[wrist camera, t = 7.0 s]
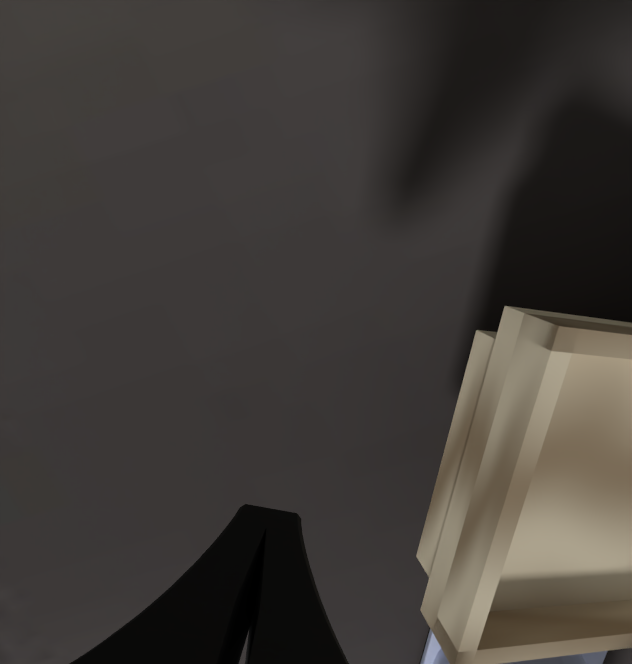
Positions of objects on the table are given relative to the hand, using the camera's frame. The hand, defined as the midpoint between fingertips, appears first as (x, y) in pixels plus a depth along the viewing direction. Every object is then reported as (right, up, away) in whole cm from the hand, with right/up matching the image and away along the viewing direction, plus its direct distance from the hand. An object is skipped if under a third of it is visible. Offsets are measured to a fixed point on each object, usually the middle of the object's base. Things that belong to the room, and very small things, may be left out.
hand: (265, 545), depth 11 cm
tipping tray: (+10, +4, +5) cm, 12 cm away
